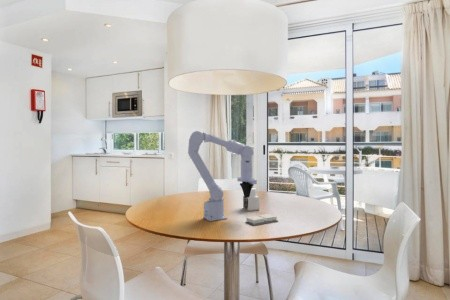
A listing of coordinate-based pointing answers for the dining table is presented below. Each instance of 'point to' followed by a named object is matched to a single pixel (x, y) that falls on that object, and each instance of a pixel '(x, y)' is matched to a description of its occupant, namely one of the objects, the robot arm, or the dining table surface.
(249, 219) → the tile near
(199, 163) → the robot arm
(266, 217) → the tile far
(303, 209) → the dining table surface
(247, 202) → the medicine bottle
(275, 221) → the mat
